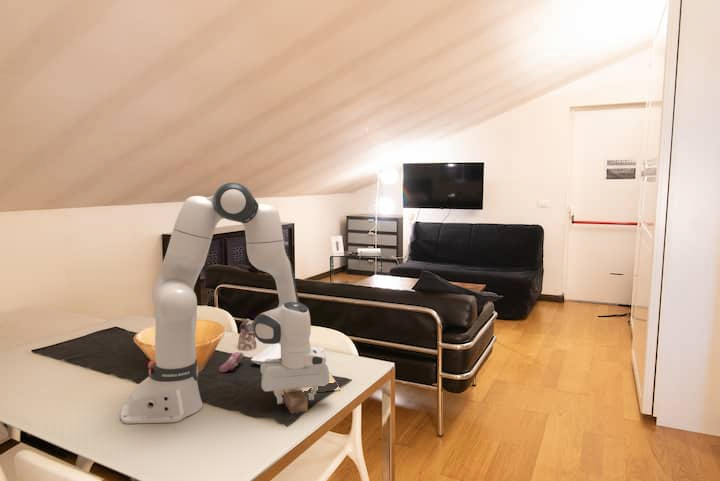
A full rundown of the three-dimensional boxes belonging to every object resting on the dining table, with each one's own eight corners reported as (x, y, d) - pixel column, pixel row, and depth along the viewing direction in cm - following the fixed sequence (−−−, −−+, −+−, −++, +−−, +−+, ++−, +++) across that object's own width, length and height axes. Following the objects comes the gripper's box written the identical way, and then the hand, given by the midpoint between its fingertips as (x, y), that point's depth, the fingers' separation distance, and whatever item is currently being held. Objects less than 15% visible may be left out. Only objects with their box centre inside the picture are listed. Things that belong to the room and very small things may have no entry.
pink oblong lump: (228, 377, 181) (236, 361, 180) (217, 371, 181) (225, 354, 180) (240, 367, 191) (247, 351, 189) (229, 361, 191) (237, 345, 190)
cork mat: (278, 397, 162) (278, 395, 162) (272, 377, 178) (272, 376, 178) (340, 390, 168) (340, 389, 168) (329, 372, 183) (329, 371, 183)
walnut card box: (291, 415, 151) (291, 399, 151) (283, 404, 158) (283, 389, 158) (307, 412, 153) (307, 396, 153) (299, 401, 160) (299, 386, 160)
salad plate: (303, 375, 181) (303, 366, 180) (249, 367, 187) (249, 358, 187) (325, 355, 201) (325, 347, 200) (276, 349, 207) (276, 340, 207)
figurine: (247, 352, 202) (247, 322, 201) (234, 348, 206) (233, 319, 204) (260, 347, 208) (259, 318, 207) (246, 343, 212) (246, 315, 211)
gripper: (261, 364, 148) (261, 409, 150) (331, 357, 154) (330, 402, 156) (259, 356, 154) (259, 400, 156) (326, 350, 160) (325, 393, 162)
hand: (295, 401), depth 156 cm, fingers open, 8 cm apart
